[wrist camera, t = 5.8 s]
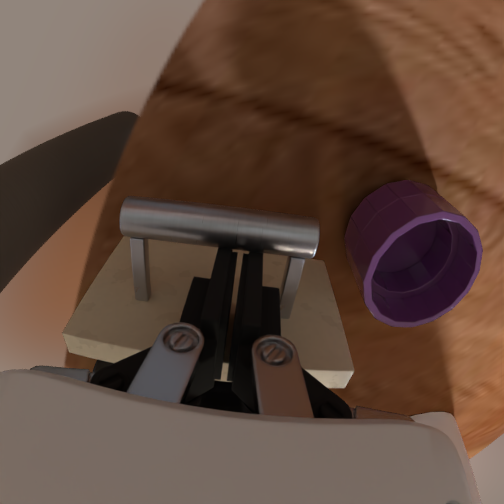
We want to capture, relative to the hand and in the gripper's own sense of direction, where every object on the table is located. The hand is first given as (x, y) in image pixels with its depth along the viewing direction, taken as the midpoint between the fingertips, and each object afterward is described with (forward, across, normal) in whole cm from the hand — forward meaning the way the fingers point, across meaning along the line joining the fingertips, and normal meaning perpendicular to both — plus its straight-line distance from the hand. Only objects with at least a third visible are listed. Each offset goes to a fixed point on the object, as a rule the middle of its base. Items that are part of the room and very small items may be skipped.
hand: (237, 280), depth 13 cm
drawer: (+5, +1, +6) cm, 8 cm away
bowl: (+6, -9, 0) cm, 11 cm away
